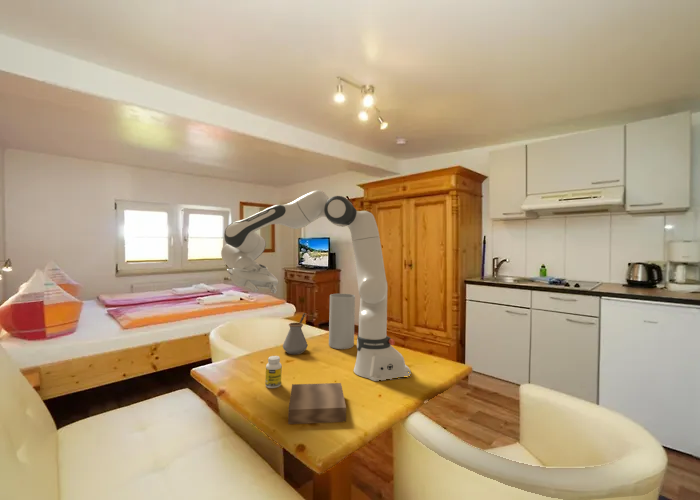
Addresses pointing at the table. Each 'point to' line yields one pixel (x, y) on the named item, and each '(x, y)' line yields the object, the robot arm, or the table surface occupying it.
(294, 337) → the coffee pot
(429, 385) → the table surface
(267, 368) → the supplement bottle
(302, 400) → the walnut plinth
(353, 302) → the cylinder vase
